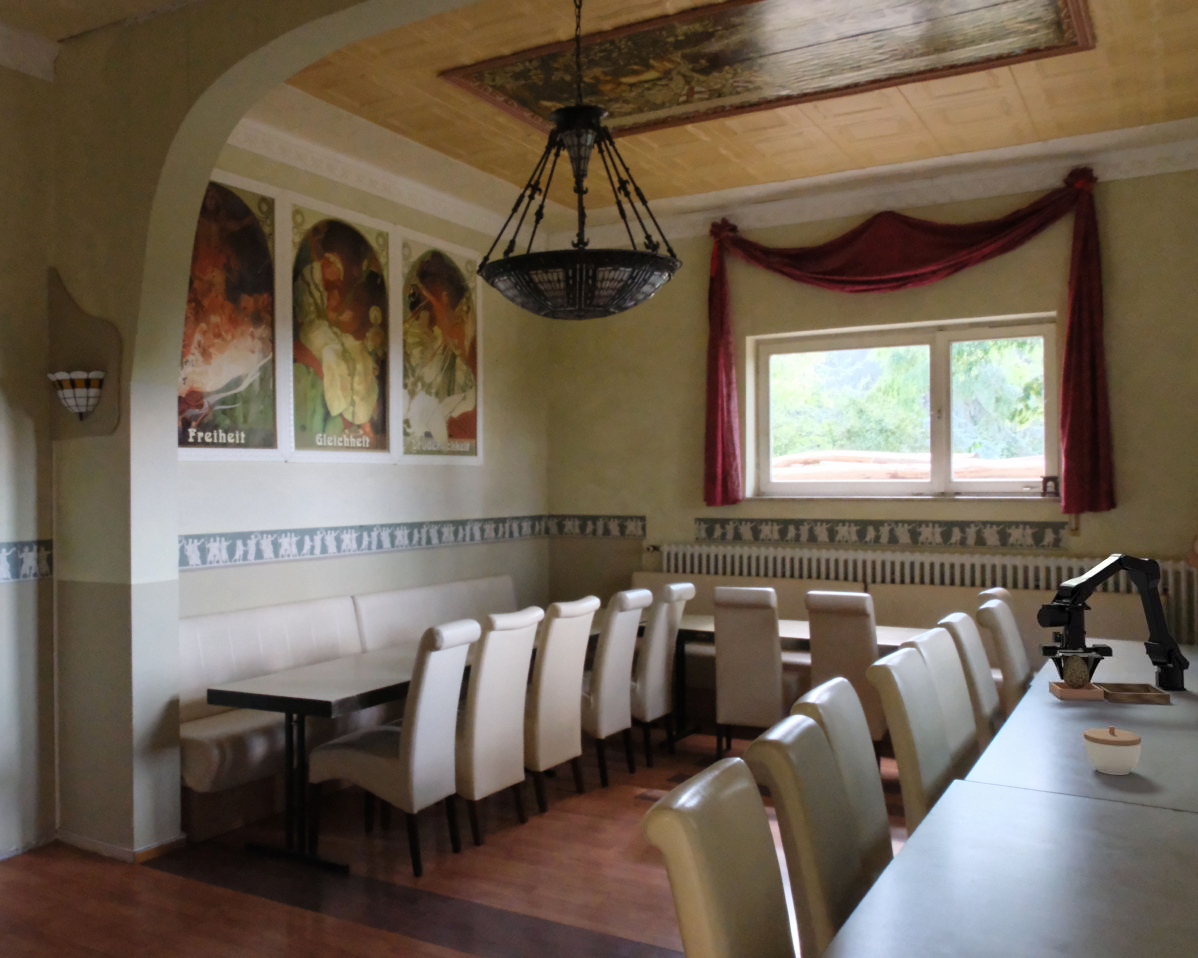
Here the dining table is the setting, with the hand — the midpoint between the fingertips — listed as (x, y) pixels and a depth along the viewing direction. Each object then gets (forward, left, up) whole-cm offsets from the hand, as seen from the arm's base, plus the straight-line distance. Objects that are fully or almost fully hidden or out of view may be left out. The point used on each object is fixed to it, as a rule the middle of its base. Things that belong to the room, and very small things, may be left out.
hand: (1075, 679), depth 281 cm
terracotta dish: (0, 0, -5) cm, 5 cm away
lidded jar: (+14, +80, -5) cm, 81 cm away
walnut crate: (-14, 0, -5) cm, 15 cm away
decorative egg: (0, 0, -3) cm, 3 cm away
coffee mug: (-4, -14, -5) cm, 15 cm away
